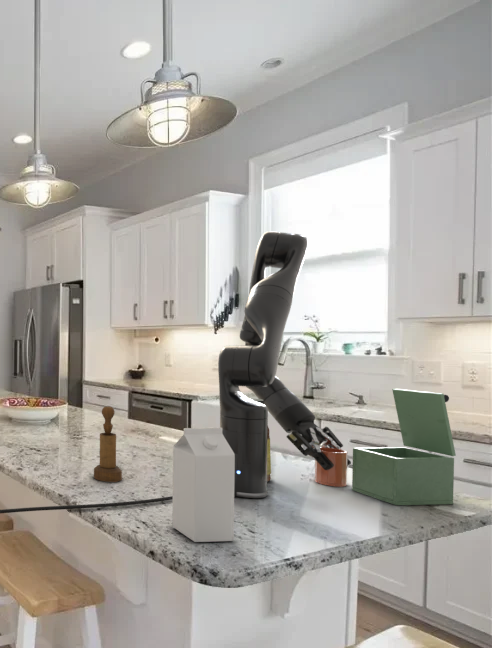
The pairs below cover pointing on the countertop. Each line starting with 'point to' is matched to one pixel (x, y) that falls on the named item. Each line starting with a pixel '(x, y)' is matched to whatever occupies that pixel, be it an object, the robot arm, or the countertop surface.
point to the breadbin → (403, 475)
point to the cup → (333, 468)
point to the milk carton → (203, 485)
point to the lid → (424, 420)
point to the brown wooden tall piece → (108, 451)
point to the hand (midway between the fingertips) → (338, 466)
